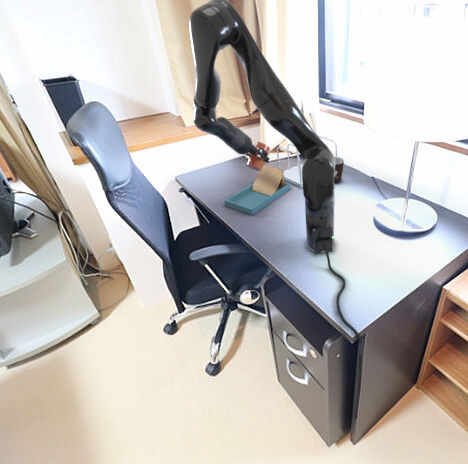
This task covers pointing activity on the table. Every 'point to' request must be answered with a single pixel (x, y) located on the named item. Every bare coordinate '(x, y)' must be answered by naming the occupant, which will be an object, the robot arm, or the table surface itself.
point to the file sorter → (295, 173)
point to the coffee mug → (338, 169)
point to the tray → (253, 199)
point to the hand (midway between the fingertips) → (261, 159)
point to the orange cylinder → (257, 162)
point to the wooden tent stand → (268, 180)
